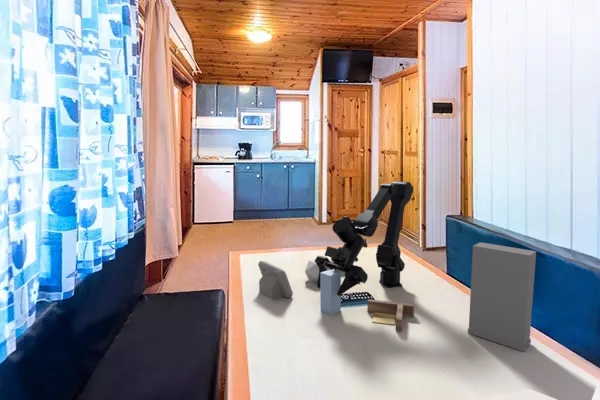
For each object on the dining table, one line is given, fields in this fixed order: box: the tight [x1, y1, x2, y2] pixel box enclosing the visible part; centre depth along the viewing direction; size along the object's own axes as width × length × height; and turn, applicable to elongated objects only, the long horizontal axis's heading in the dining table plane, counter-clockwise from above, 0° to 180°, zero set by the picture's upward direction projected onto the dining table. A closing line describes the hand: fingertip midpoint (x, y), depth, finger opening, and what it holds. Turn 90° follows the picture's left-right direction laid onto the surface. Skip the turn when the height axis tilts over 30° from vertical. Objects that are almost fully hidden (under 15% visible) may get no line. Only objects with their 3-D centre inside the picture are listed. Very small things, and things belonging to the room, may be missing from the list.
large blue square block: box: [319, 269, 342, 316], centre depth 119 cm, size 4×4×12 cm
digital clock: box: [257, 260, 294, 300], centre depth 134 cm, size 16×9×11 cm, turn 24°
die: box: [304, 260, 319, 283], centre depth 146 cm, size 8×9×10 cm
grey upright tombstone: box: [467, 241, 537, 352], centre depth 99 cm, size 14×6×25 cm, turn 44°
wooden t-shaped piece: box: [366, 298, 415, 333], centre depth 112 cm, size 12×14×4 cm
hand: (327, 291), depth 118 cm, fingers open, 8 cm apart
